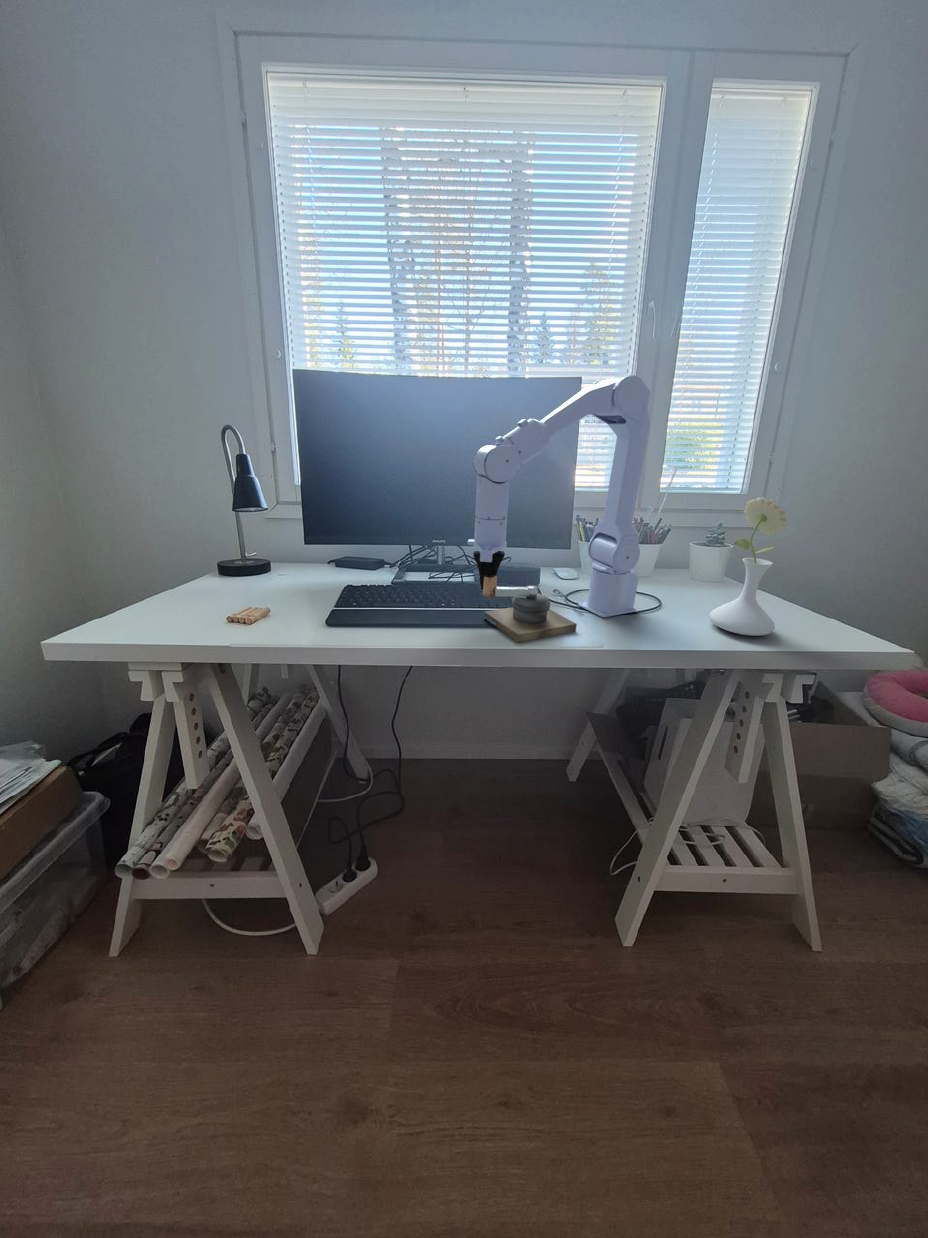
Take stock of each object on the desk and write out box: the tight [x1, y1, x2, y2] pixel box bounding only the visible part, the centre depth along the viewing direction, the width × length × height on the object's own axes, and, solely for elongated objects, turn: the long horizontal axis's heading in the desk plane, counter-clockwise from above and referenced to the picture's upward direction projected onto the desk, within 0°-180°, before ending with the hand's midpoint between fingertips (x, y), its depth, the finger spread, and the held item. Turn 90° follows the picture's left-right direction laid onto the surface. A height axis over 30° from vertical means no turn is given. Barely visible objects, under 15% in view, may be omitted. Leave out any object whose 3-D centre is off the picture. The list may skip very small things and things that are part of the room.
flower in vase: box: [708, 496, 788, 637], centre depth 88 cm, size 13×11×25 cm
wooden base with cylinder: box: [483, 592, 578, 643], centre depth 89 cm, size 13×12×6 cm
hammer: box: [482, 575, 539, 599], centre depth 87 cm, size 10×2×4 cm, turn 96°
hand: (487, 589), depth 89 cm, fingers closed
